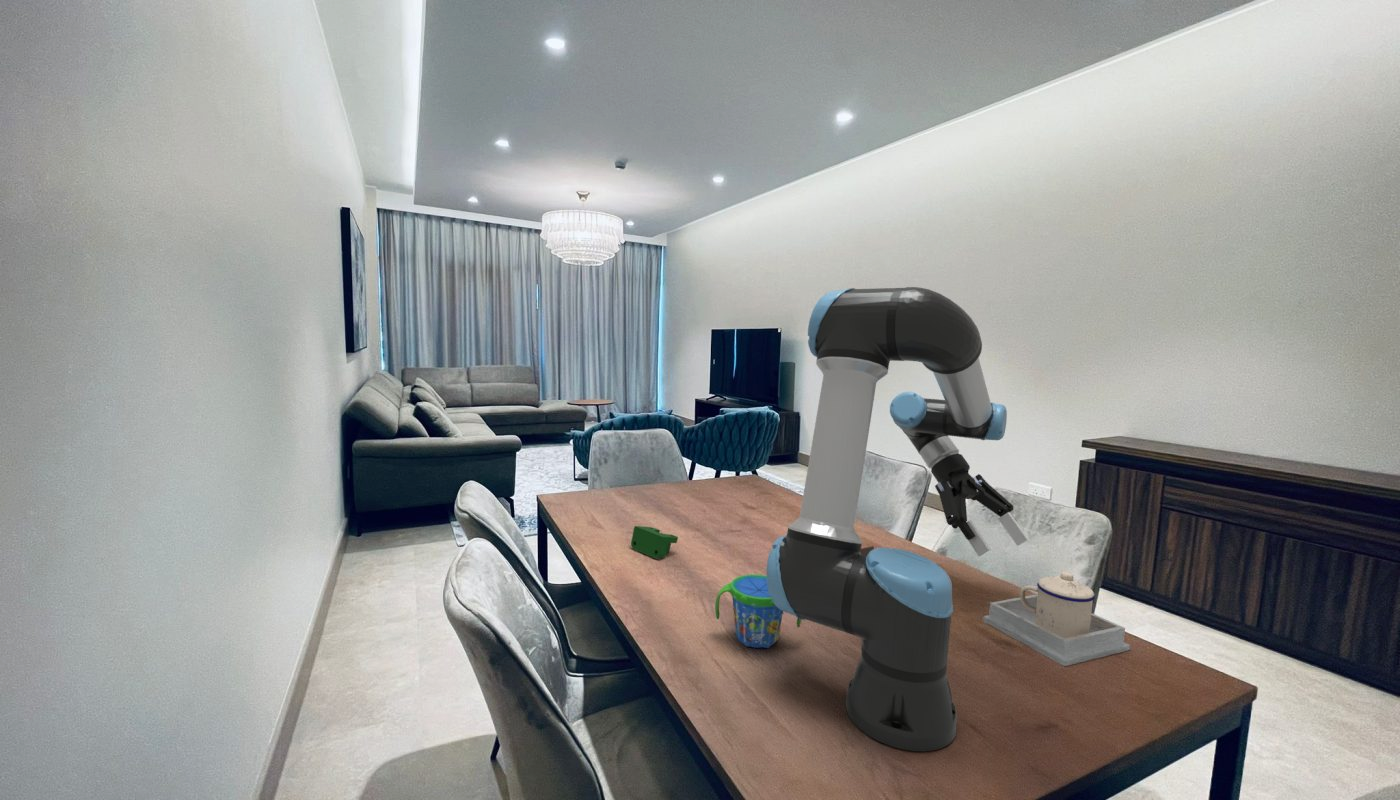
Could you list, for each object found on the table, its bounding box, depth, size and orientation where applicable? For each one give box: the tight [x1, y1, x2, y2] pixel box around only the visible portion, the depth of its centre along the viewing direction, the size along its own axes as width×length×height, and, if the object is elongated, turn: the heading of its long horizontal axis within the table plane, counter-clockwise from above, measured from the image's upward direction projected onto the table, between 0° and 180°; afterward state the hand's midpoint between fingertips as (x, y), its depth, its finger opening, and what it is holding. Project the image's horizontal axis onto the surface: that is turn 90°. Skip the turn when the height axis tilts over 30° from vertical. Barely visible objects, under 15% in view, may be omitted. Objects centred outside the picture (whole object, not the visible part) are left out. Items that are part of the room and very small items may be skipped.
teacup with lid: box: [1019, 571, 1096, 639], centre depth 108 cm, size 12×9×12 cm
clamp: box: [630, 525, 679, 559], centre depth 145 cm, size 12×6×9 cm, turn 39°
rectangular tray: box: [982, 593, 1131, 667], centre depth 108 cm, size 17×17×4 cm
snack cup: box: [714, 574, 802, 649], centre depth 103 cm, size 16×10×10 cm
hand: (1004, 547), depth 116 cm, fingers open, 13 cm apart
